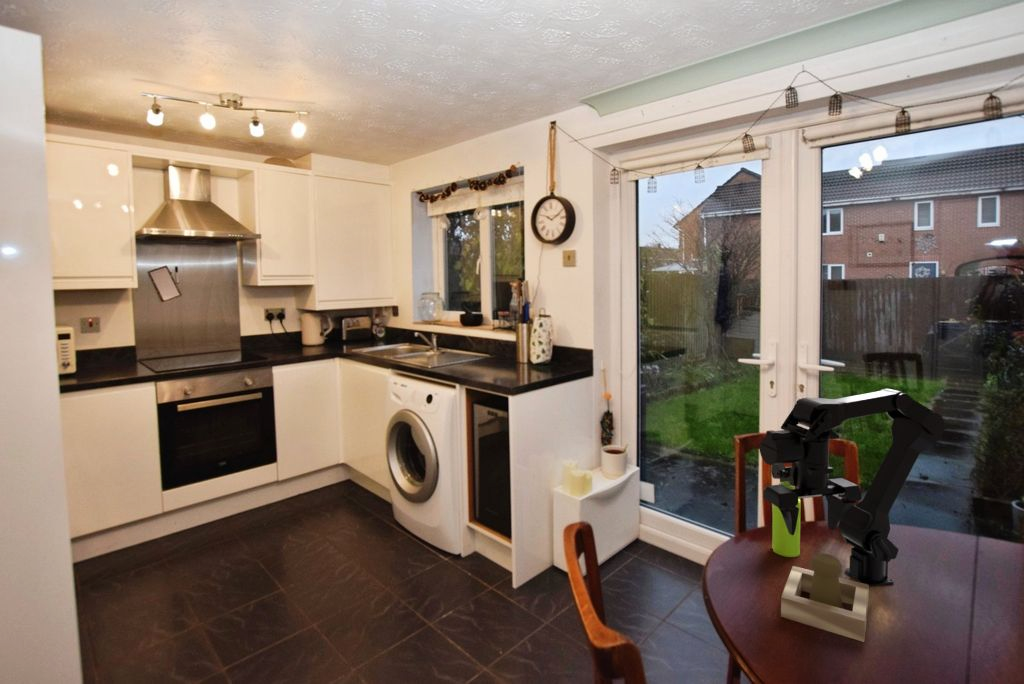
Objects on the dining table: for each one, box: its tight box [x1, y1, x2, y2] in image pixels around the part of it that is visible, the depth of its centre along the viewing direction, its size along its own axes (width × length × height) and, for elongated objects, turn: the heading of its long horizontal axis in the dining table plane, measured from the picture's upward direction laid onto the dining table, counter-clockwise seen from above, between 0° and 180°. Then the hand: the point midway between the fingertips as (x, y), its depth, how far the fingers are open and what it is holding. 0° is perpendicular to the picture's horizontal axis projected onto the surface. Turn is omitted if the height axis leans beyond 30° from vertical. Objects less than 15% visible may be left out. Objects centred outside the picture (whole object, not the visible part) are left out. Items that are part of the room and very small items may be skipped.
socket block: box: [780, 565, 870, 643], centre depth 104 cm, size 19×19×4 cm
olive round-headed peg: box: [808, 553, 844, 609], centre depth 104 cm, size 6×6×11 cm
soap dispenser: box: [771, 481, 802, 558], centre depth 126 cm, size 6×7×20 cm
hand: (811, 531), depth 111 cm, fingers open, 9 cm apart
